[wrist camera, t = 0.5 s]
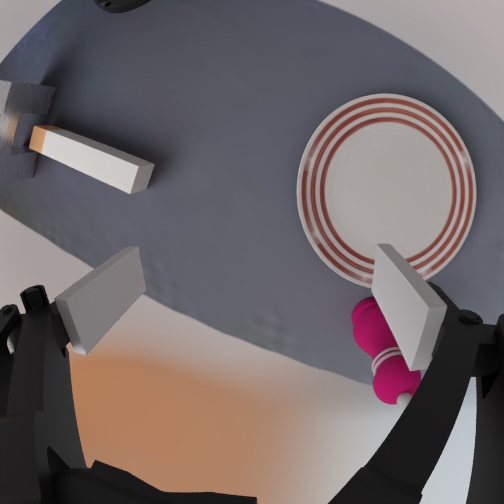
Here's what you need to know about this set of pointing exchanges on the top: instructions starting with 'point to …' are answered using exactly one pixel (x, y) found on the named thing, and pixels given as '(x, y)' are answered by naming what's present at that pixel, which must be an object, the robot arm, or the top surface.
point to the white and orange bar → (92, 158)
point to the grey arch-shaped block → (5, 120)
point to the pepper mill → (383, 355)
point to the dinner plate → (386, 186)
